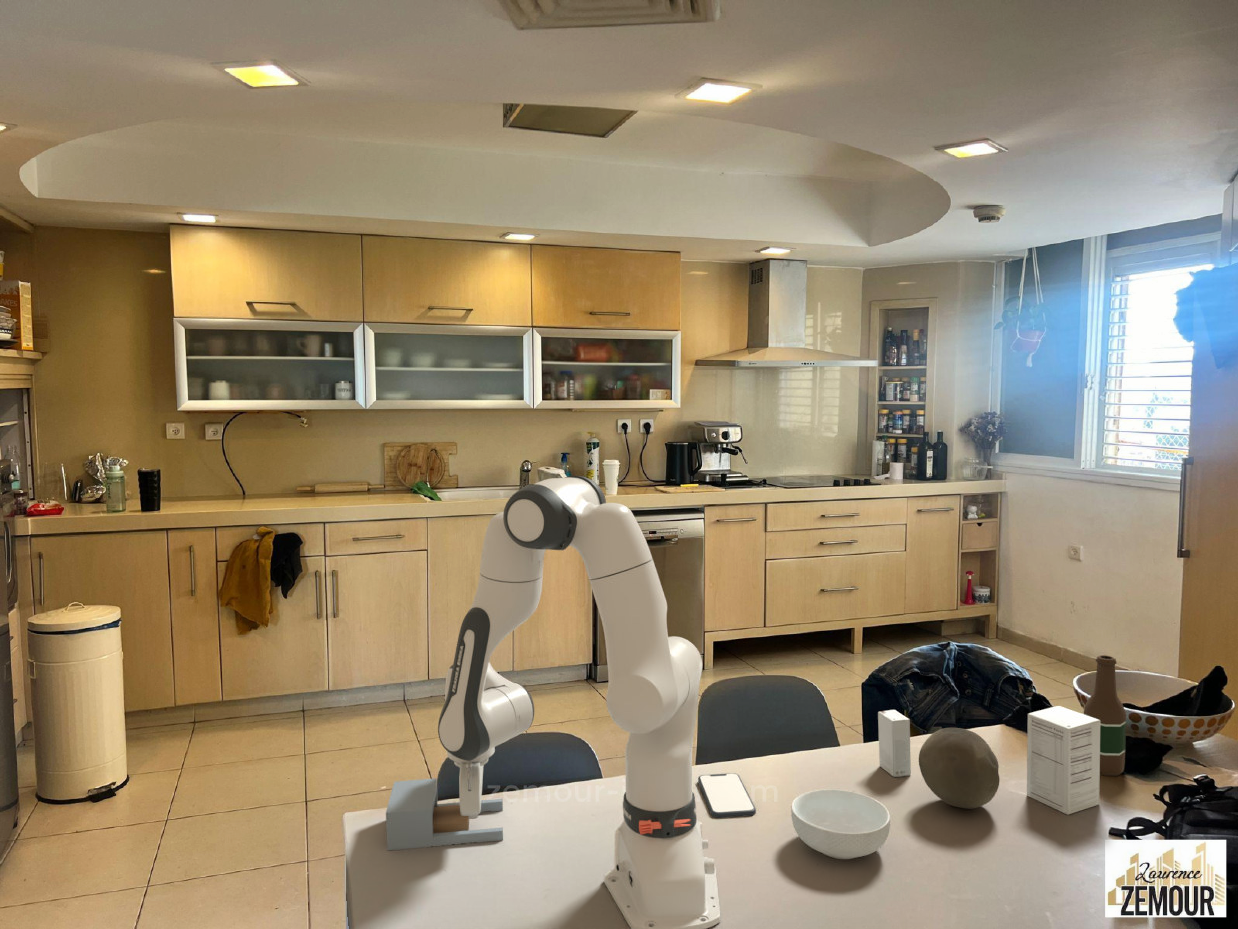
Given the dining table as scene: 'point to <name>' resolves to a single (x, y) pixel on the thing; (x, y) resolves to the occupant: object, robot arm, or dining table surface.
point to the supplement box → (1063, 759)
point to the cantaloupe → (959, 767)
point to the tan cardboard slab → (449, 819)
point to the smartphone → (726, 795)
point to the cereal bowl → (840, 822)
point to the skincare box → (894, 743)
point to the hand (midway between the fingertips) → (473, 815)
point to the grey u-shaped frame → (427, 818)
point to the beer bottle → (1108, 717)
